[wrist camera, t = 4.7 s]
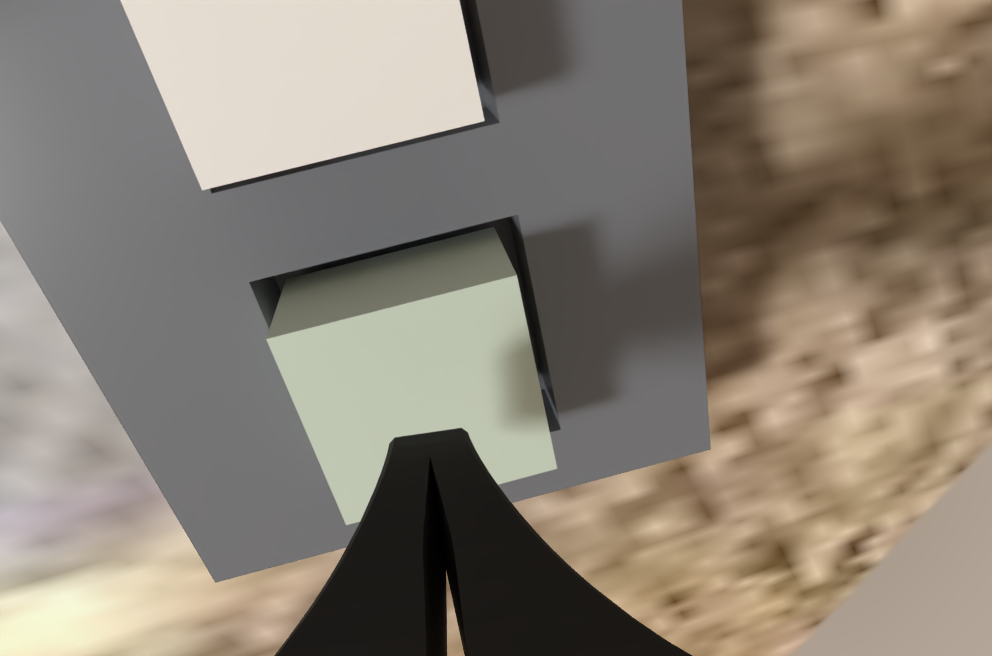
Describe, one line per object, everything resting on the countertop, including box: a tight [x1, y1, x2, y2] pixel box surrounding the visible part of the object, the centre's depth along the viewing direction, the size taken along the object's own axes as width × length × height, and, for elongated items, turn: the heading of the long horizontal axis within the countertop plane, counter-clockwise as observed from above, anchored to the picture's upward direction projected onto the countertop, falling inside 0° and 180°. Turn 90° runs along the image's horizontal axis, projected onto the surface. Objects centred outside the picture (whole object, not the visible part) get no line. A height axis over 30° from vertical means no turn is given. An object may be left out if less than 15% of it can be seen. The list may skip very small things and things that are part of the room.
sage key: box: [266, 227, 557, 525], centre depth 15 cm, size 5×5×3 cm
